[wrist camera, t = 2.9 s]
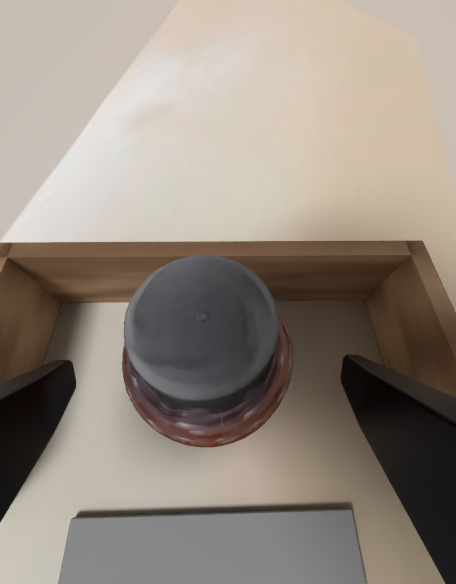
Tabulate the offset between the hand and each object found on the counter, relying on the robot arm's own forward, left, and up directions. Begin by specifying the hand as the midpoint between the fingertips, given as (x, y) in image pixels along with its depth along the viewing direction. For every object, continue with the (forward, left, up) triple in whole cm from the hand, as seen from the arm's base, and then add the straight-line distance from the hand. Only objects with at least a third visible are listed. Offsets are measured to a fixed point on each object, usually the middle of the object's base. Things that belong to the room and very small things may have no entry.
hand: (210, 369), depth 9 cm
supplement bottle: (+1, 0, -9) cm, 9 cm away
